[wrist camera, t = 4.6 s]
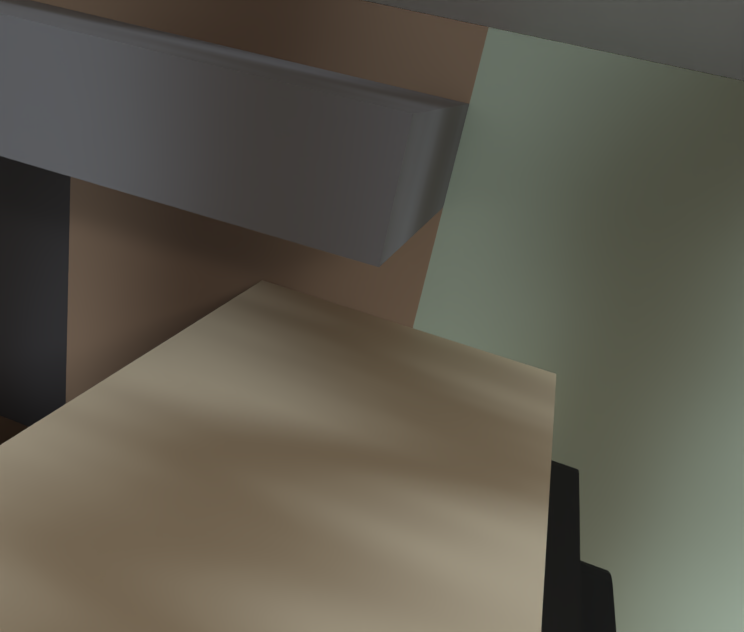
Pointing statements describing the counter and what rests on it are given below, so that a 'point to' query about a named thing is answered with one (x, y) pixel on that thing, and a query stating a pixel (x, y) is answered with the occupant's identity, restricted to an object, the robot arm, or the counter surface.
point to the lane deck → (401, 232)
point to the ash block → (285, 484)
